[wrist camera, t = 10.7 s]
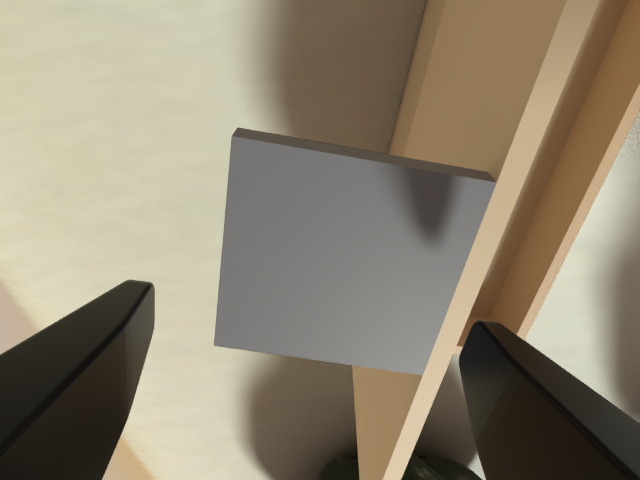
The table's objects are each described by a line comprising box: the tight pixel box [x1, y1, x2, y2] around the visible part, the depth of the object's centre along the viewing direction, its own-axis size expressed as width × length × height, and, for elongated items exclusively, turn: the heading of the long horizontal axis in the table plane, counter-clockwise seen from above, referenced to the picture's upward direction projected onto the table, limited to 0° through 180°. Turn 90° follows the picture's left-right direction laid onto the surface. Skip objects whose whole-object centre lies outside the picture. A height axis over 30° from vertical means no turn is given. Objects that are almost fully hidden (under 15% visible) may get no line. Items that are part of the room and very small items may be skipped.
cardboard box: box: [388, 0, 640, 355], centre depth 19 cm, size 18×8×3 cm, turn 170°
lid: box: [214, 0, 599, 480], centre depth 13 cm, size 18×8×6 cm
